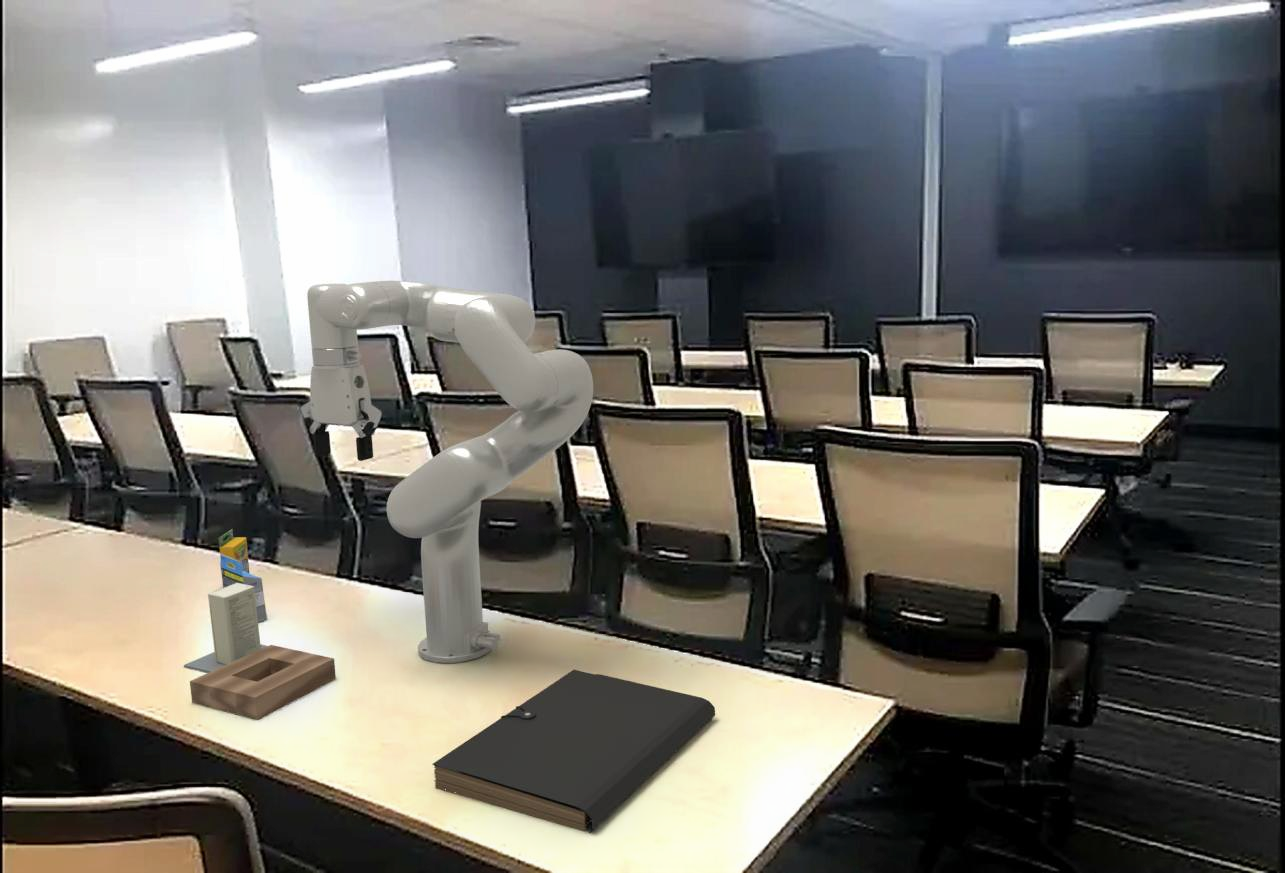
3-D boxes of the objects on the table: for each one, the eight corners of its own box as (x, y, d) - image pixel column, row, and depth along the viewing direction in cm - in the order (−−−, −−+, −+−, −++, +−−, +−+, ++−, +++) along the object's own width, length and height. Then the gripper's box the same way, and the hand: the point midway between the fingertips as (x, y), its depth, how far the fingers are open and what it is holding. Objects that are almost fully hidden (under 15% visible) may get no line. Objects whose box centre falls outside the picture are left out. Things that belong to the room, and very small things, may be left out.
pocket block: (335, 679, 170) (334, 658, 169) (257, 719, 156) (254, 697, 155) (272, 664, 176) (270, 644, 176) (192, 702, 163) (189, 681, 162)
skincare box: (245, 649, 182) (238, 581, 180) (262, 654, 180) (255, 585, 178) (213, 662, 177) (206, 593, 175) (231, 667, 175) (224, 596, 172)
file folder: (572, 666, 163) (715, 698, 151) (573, 691, 164) (715, 725, 152) (430, 761, 135) (592, 809, 123) (432, 790, 135) (593, 841, 124)
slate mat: (291, 653, 181) (291, 650, 181) (234, 679, 171) (234, 677, 171) (241, 642, 187) (241, 640, 187) (184, 667, 176) (183, 664, 176)
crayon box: (237, 593, 213) (232, 538, 211) (223, 594, 213) (217, 538, 211) (251, 582, 220) (246, 528, 218) (237, 582, 220) (231, 528, 218)
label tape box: (268, 620, 197) (261, 557, 195) (247, 627, 194) (241, 562, 192) (244, 610, 203) (238, 548, 201) (224, 616, 200) (217, 553, 198)
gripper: (390, 356, 178) (397, 456, 181) (314, 354, 186) (322, 449, 190) (359, 362, 172) (367, 465, 175) (281, 359, 180) (290, 457, 183)
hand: (344, 457), depth 182 cm, fingers open, 9 cm apart
